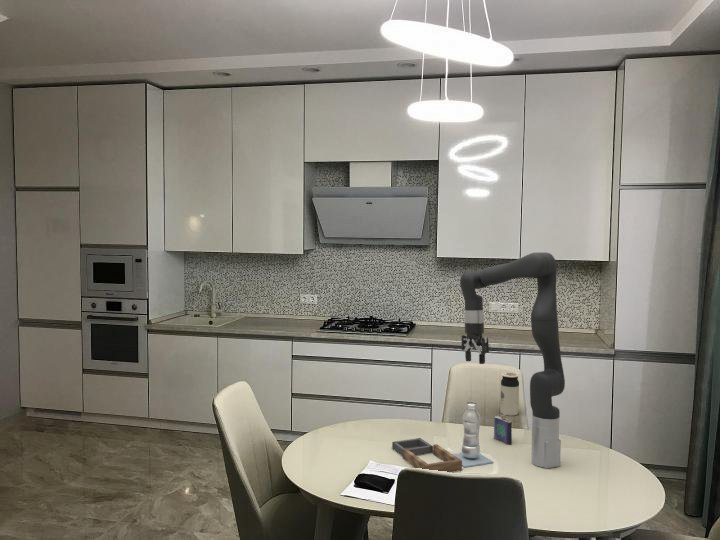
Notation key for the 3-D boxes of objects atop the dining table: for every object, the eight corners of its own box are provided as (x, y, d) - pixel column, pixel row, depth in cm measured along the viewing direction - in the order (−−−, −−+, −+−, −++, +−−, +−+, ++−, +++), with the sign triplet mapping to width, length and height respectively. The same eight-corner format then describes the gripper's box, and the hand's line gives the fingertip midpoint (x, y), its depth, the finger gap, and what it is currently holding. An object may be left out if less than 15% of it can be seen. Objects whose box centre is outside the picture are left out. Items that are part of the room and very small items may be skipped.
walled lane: (461, 470, 211) (461, 460, 211) (426, 476, 206) (426, 466, 205) (436, 453, 227) (436, 444, 227) (402, 458, 222) (402, 449, 222)
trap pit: (432, 452, 228) (432, 446, 227) (404, 457, 223) (404, 450, 223) (420, 444, 237) (420, 437, 237) (392, 448, 232) (392, 441, 232)
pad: (493, 463, 218) (493, 461, 218) (464, 467, 213) (464, 466, 213) (474, 451, 229) (474, 450, 229) (446, 456, 224) (446, 454, 224)
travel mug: (516, 411, 282) (517, 372, 280) (519, 416, 274) (520, 376, 273) (499, 410, 282) (500, 372, 281) (501, 415, 274) (502, 376, 273)
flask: (492, 438, 244) (492, 411, 244) (498, 437, 246) (498, 411, 245) (508, 445, 236) (508, 418, 235) (513, 444, 237) (514, 417, 237)
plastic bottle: (466, 452, 226) (467, 399, 225) (483, 457, 222) (484, 403, 220) (458, 457, 221) (458, 403, 220) (474, 462, 217) (475, 406, 215)
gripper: (455, 321, 247) (456, 361, 246) (477, 323, 234) (479, 365, 234) (470, 320, 250) (471, 359, 250) (493, 322, 237) (494, 363, 237)
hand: (475, 362), depth 242 cm, fingers open, 8 cm apart
